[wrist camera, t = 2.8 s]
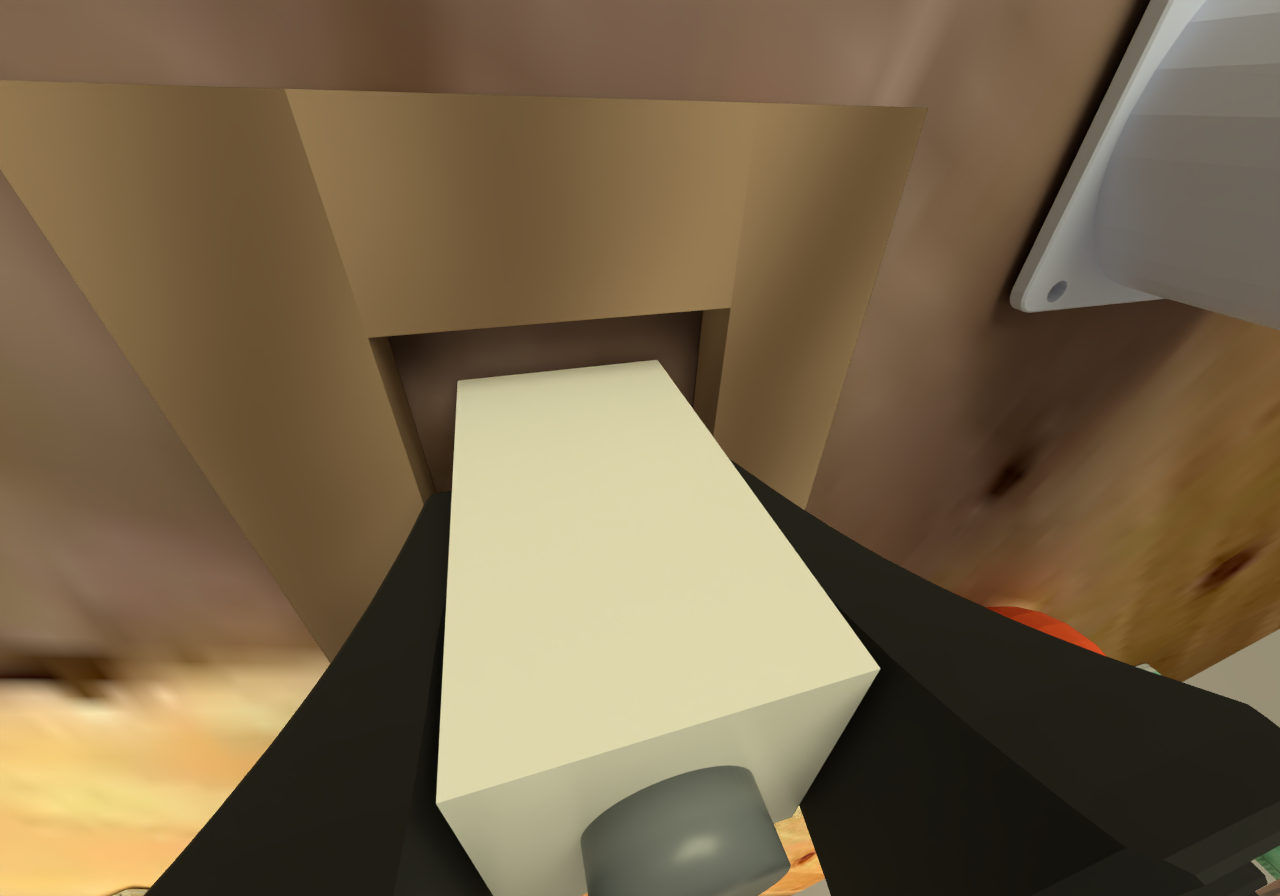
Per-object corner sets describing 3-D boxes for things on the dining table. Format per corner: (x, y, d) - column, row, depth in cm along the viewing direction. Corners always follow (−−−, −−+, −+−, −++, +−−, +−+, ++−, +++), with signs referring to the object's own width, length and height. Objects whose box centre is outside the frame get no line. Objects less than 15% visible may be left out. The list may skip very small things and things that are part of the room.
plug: (657, 359, 10) (945, 759, 4) (650, 501, 12) (823, 887, 6) (457, 380, 9) (428, 951, 3) (491, 529, 11) (514, 1018, 5)
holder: (878, 107, 8) (928, 107, 8) (762, 558, 15) (781, 587, 15) (27, 81, 6) (-61, 77, 5) (359, 649, 13) (349, 692, 12)
